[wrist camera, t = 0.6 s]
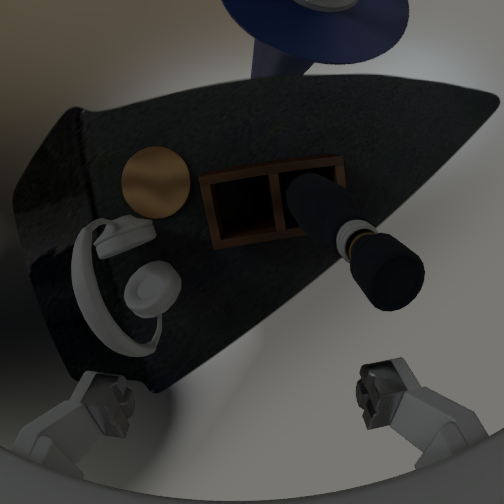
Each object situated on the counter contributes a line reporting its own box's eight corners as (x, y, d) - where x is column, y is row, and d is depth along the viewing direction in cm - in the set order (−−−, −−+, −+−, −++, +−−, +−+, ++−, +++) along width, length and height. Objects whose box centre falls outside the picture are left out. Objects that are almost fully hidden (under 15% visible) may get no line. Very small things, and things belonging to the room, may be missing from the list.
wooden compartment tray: (204, 172, 42) (198, 177, 36) (330, 153, 41) (342, 155, 36) (217, 235, 45) (213, 250, 40) (336, 216, 45) (349, 228, 39)
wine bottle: (330, 195, 43) (452, 289, 16) (296, 219, 45) (372, 347, 17) (307, 160, 41) (422, 205, 14) (272, 184, 43) (325, 274, 15)
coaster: (115, 156, 40) (114, 157, 40) (182, 138, 40) (182, 138, 39) (131, 224, 44) (130, 224, 44) (197, 210, 44) (197, 211, 43)
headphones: (197, 294, 49) (174, 379, 30) (151, 308, 50) (114, 390, 31) (148, 190, 42) (85, 230, 24) (102, 213, 43) (29, 261, 25)
